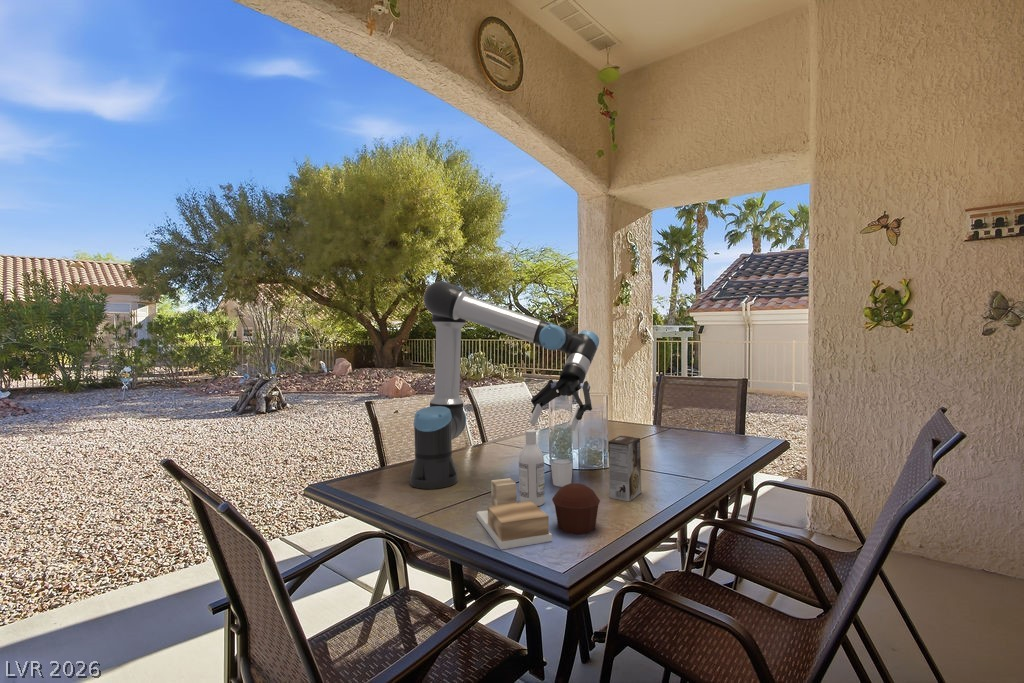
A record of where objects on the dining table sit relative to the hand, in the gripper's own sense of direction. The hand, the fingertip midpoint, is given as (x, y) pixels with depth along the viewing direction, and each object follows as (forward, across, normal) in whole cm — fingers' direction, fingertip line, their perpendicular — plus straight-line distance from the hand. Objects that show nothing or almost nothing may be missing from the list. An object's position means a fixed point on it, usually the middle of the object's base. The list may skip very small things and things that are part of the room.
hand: (551, 425), depth 141 cm
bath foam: (+22, 0, -6) cm, 23 cm away
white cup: (+8, +2, -20) cm, 22 cm away
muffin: (+28, -18, -1) cm, 33 cm away
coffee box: (+8, -19, -21) cm, 29 cm away
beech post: (+30, -1, +5) cm, 31 cm away
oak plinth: (+34, -9, +9) cm, 37 cm away
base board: (+34, -6, +6) cm, 35 cm away
